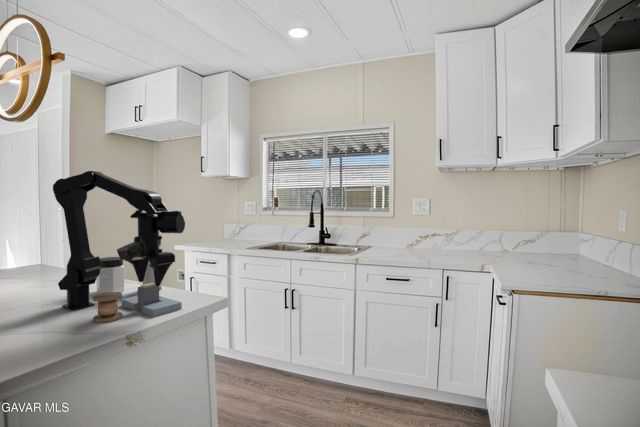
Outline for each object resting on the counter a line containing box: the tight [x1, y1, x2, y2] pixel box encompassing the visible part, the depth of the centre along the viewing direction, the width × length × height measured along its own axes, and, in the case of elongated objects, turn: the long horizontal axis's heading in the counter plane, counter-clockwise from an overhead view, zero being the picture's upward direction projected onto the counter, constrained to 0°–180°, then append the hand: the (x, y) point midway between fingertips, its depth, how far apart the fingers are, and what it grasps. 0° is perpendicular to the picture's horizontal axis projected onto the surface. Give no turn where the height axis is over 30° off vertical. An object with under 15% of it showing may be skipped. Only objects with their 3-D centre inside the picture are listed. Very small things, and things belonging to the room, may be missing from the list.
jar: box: [95, 256, 125, 294], centre depth 124 cm, size 9×8×12 cm
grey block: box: [137, 283, 160, 312], centre depth 105 cm, size 3×5×8 cm, turn 147°
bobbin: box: [92, 292, 123, 324], centre depth 96 cm, size 7×7×7 cm
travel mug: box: [142, 239, 163, 291], centre depth 126 cm, size 6×7×20 cm
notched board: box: [120, 295, 183, 318], centre depth 106 cm, size 18×9×2 cm, turn 56°
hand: (149, 283), depth 105 cm, fingers open, 9 cm apart
